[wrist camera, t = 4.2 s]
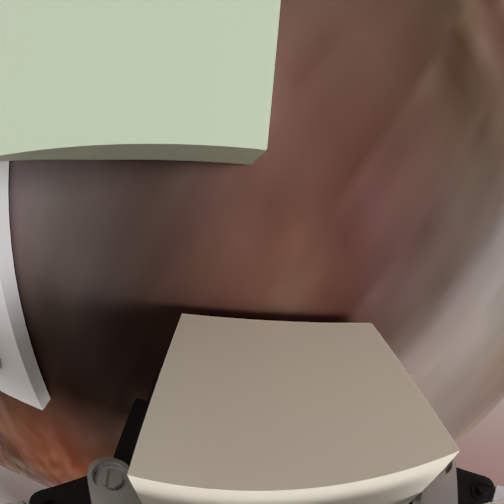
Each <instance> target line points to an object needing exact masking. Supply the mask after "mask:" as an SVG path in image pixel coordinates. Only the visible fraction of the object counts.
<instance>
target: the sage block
mask: <svg viewBox="0 0 504 504" xmlns="http://www.w3.org/2000/svg"><path fill="white" fill-rule="evenodd" d="M280 2H281V0H0V161H15V160H179V161H202V162H218V163H232V164H244V165H251V164H252V163H253V162H254V161H255V160H256V159H257V158H259V157H260V156H261V155H262V154H263V153H264V152H265V151H266V150H267V143H268V132H269V122H270V111H271V101H272V90H273V79H274V68H275V58H276V47H277V36H278V25H279V13H280Z"/></svg>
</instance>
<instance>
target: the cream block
mask: <svg viewBox="0 0 504 504" xmlns="http://www.w3.org/2000/svg"><path fill="white" fill-rule="evenodd" d="M459 451H460V450H459V448H458V447H457V445H456V443H455V442H454V440H453V439H452V437H451V435H450V434H449V432H448V431H447V429H446V428H445V426H444V425H443V423H442V422H441V420H440V419H439V417H438V416H437V414H436V413H435V411H434V410H433V408H432V407H431V405H430V404H429V402H428V401H427V399H426V398H425V396H424V395H423V393H422V392H421V390H420V389H419V388H418V386H417V385H416V383H415V382H414V380H413V379H412V378H411V376H410V375H409V373H408V372H407V370H406V369H405V368H404V366H403V365H402V364H401V362H400V361H399V359H398V358H397V357H396V355H395V354H394V352H393V351H392V350H391V348H390V347H389V346H388V344H387V343H386V342H385V340H384V339H383V338H382V336H381V335H380V334H379V332H378V331H377V330H376V328H375V327H374V326H373V324H372V323H323V322H292V321H271V320H254V319H240V318H226V317H214V316H203V315H193V314H183V313H182V314H181V317H180V320H179V322H178V325H177V328H176V330H175V333H174V336H173V338H172V341H171V344H170V347H169V349H168V352H167V355H166V358H165V361H164V363H163V366H162V369H161V372H160V375H159V378H158V380H157V383H156V386H155V389H154V392H153V395H152V398H151V401H150V404H149V407H148V410H147V413H146V416H145V419H144V422H143V425H142V428H141V431H140V434H139V438H138V441H137V444H136V447H135V450H134V454H133V457H132V460H131V464H130V467H129V470H128V474H127V476H128V478H129V480H130V482H131V484H132V486H133V488H134V489H135V491H136V493H137V495H138V497H139V499H140V501H141V502H142V504H409V503H410V502H411V501H412V500H413V499H414V498H415V497H416V496H418V495H419V494H420V493H421V492H422V491H423V490H424V489H425V488H426V487H427V486H428V485H429V484H430V483H431V482H432V481H433V480H434V479H435V478H436V477H437V476H438V475H439V474H440V473H441V472H442V470H443V469H444V468H445V467H446V466H447V465H448V464H449V463H450V462H451V460H452V459H453V458H454V457H455V456H456V455H457V453H458V452H459Z"/></svg>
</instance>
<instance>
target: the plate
mask: <svg viewBox="0 0 504 504" xmlns="http://www.w3.org/2000/svg"><path fill="white" fill-rule="evenodd" d="M8 180H9V161H0V391H2V392H4V393H6V394H8V395H10V396H12V397H14V398H16V399H18V400H20V401H22V402H24V403H27V404H29V405H31V406H34V407H36V408H38V409H41V410H43V409H44V408H45V406H46V405H47V403H48V402H49V401H50V399H51V398H50V396H49V394H48V391H47V389H46V386H45V383H44V381H43V378H42V375H41V373H40V370H39V367H38V364H37V361H36V358H35V355H34V352H33V349H32V345H31V342H30V339H29V335H28V331H27V328H26V324H25V320H24V316H23V312H22V307H21V303H20V298H19V293H18V288H17V282H16V276H15V270H14V263H13V255H12V247H11V237H10V223H9V199H8Z"/></svg>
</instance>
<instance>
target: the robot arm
mask: <svg viewBox="0 0 504 504" xmlns="http://www.w3.org/2000/svg"><path fill="white" fill-rule="evenodd" d="M161 369H162V368H159V370H158V373H157V375H156V378H155V381H154V384H153V387H152V389H151V392H150V395H149V398H148V401H147V400H142V399H136V400H135V401H134V403H133V406H132V409H131V411H130V414H129V416H128V419H127V422H126V424H125V427H124V430H123V432H122V435H121V438H120V440H119V443H118V446H117V449H116V451H115V454H114V457H113V458H108V457H106V458H101V459H98V460H96V461H94V462H93V463H92V464H91V465H90V466H89V469H88V471H87V476H85V477H82V478H79V479H76V480H73V481H70V482H67V483H64V484H61V485H58V486H54V487H51V488H47V489H44V490H40V491H38V492H36V493H34V494H33V495H32V496H31V498H30V501H27V502H24V501H22V500H21V501H17V502H12V503H8V504H142V502H141V501H140V499H139V497H138V495H137V493H136V491H135V489H134V488H133V486H132V484H131V482H130V480H129V478H128V476H127V474H128V470H129V467H130V464H131V460H132V457H133V454H134V450H135V447H136V444H137V441H138V438H139V434H140V431H141V428H142V425H143V422H144V419H145V416H146V413H147V410H148V407H149V404H150V401H151V398H152V395H153V392H154V389H155V386H156V383H157V380H158V378H159V375H160V372H161ZM409 504H504V487H502V486H499V485H496V486H495V487H494V484H493V482H492V481H491V480H490V479H489V478H487V477H485V476H481V475H478V474H475V473H472V472H469V471H465V470H462V469H459V468H456V463H455V459H454V458H453V459H452V460H451V462H450V463H449V464H448V465H447V466H446V467H445V468H444V469H443V470H442V472H441V473H440V474H439V475H438V476H437V477H436V478H435V479H434V480H433V481H432V482H431V483H430V484H429V485H428V486H427V487H426V488H425V489H424V490H423V491H422V492H421V493H420V494H419V495H418V496H416V497H415V498H414V499H413V500H412V501H411V502H410V503H409Z"/></svg>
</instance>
